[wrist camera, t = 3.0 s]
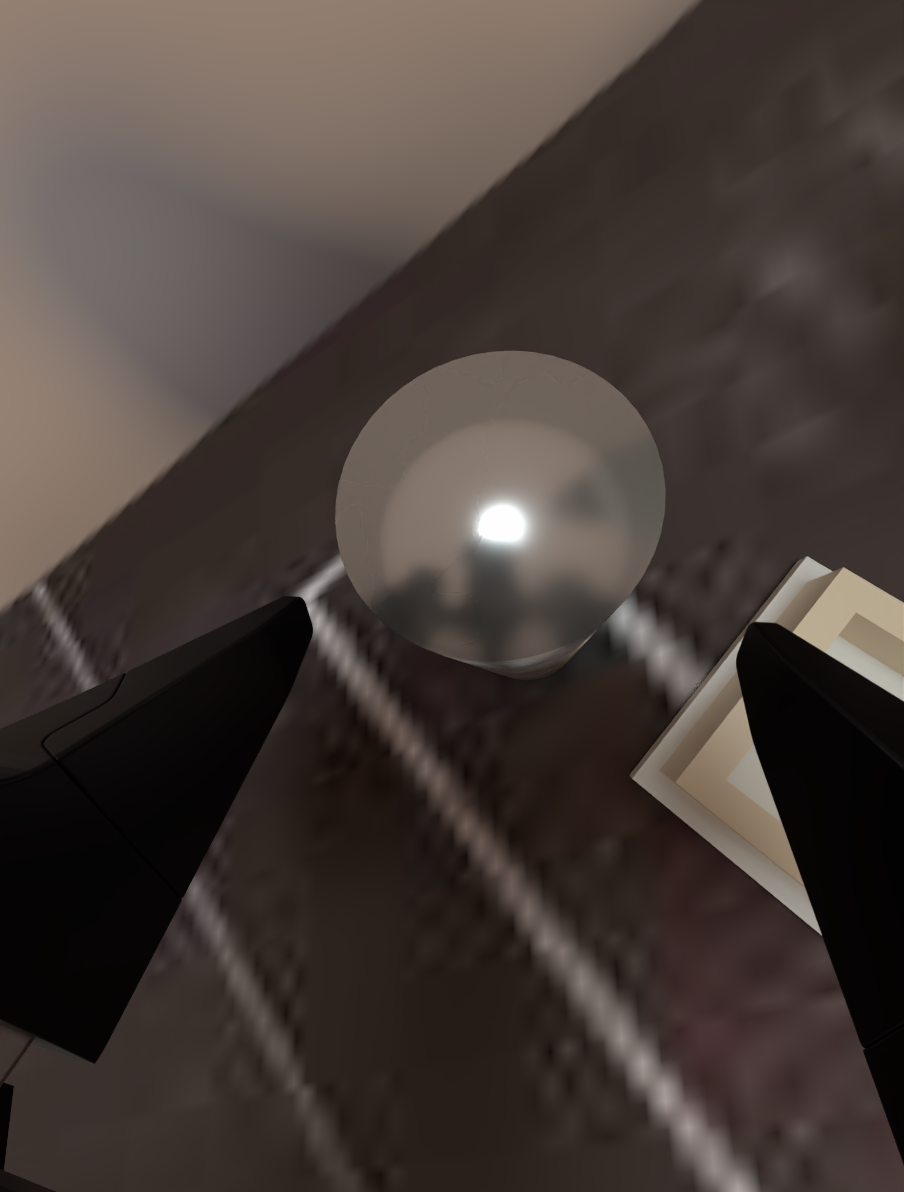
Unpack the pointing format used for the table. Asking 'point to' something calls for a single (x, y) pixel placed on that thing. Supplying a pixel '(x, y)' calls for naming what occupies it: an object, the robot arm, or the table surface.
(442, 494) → the clear drinking glass
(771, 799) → the white oblong stand
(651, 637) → the table surface
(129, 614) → the table surface
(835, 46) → the table surface
